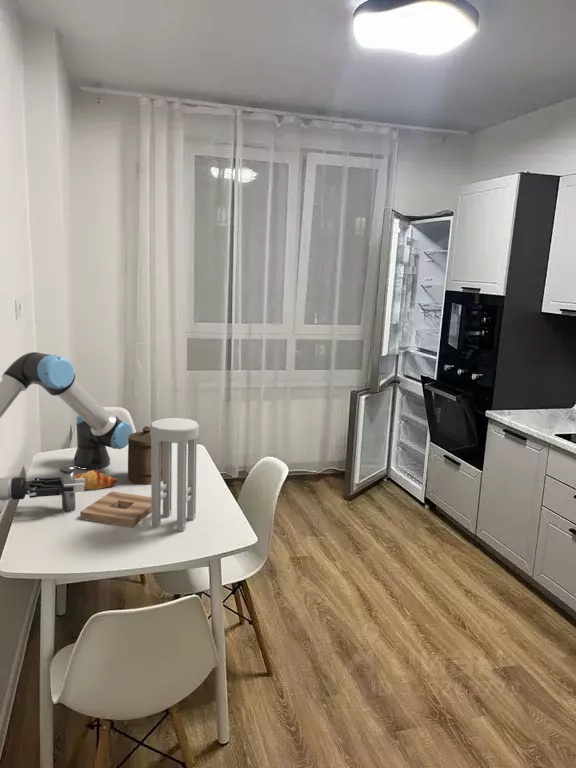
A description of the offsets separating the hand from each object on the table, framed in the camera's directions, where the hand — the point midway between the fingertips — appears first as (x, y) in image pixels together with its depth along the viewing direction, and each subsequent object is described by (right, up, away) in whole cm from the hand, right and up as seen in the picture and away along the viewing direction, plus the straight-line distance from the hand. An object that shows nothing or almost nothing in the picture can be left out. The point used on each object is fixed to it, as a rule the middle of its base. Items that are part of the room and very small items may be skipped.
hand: (84, 484), depth 202 cm
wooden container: (+14, -4, +34) cm, 37 cm away
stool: (+33, -12, -6) cm, 36 cm away
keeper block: (+13, -10, +1) cm, 16 cm away
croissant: (-6, -5, +23) cm, 24 cm away
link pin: (-6, -9, 0) cm, 10 cm away
